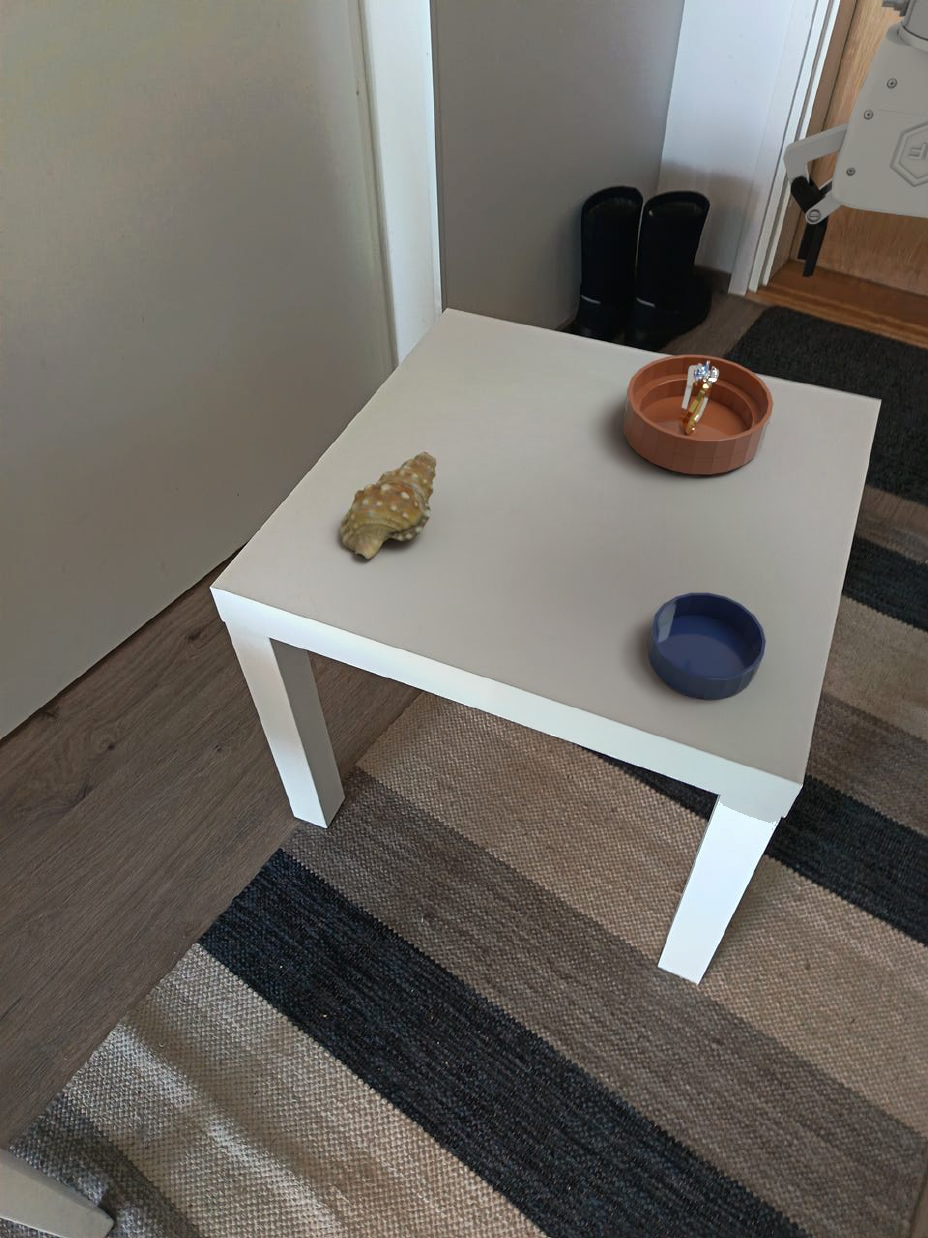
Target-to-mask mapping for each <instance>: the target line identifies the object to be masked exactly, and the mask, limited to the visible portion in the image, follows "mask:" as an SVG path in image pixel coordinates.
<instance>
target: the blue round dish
mask: <svg viewBox="0 0 928 1238" xmlns="http://www.w3.org/2000/svg"><path fill="white" fill-rule="evenodd" d="M766 644H767V639H766V636H765V633H764V629H763V626H762V624H761V623H760V622H759V620H758V619H757V617H756V616H755V614H754V613H752V611H750V610H749V609H748V608H747V607H746V606H744V605H743V604H742V603H740V602H738V601H736V600H734V599H732V598H730V597H728V596H725V595H721V594H718V593H711V592H688V593H683V594H681V595H677V596H675V597H673V598H671V599H669V600H668V601H666V602H665V603H663V604H662V606H661V607H660V608H659V609H658V610H657V612H656V613H655V615H654V617H653V622H652V626H651V629H650V634H649V638H648V642H647V657H648V660H649V664H650V666H651V669H652V670H653V671H654V673H655V675H656V676H657V678H659V679H660V680H661V681H662V682H663V683H664V684H665V685H667V686H668V687H669V688H671V689H672V690H674V691H675V692H677V693H680V694H682V695H684V696H687V697H691V698H693V699H698V700H707V701H708V700H709V701H710V700H711V701H712V700H722V699H723V700H724V699H726V698H727V699H728V698H731V697H733V696H735V695H737V694H739V693H741V692H742V691H744V690H745V689H746V688H747V687H748V686H749V685H750V684H751V683H752V681H753V679H754V677H756V675H757V672H758V670H759V667H760V665H761V662H762V660H763V658H764V656H765V649H766Z"/></svg>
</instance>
